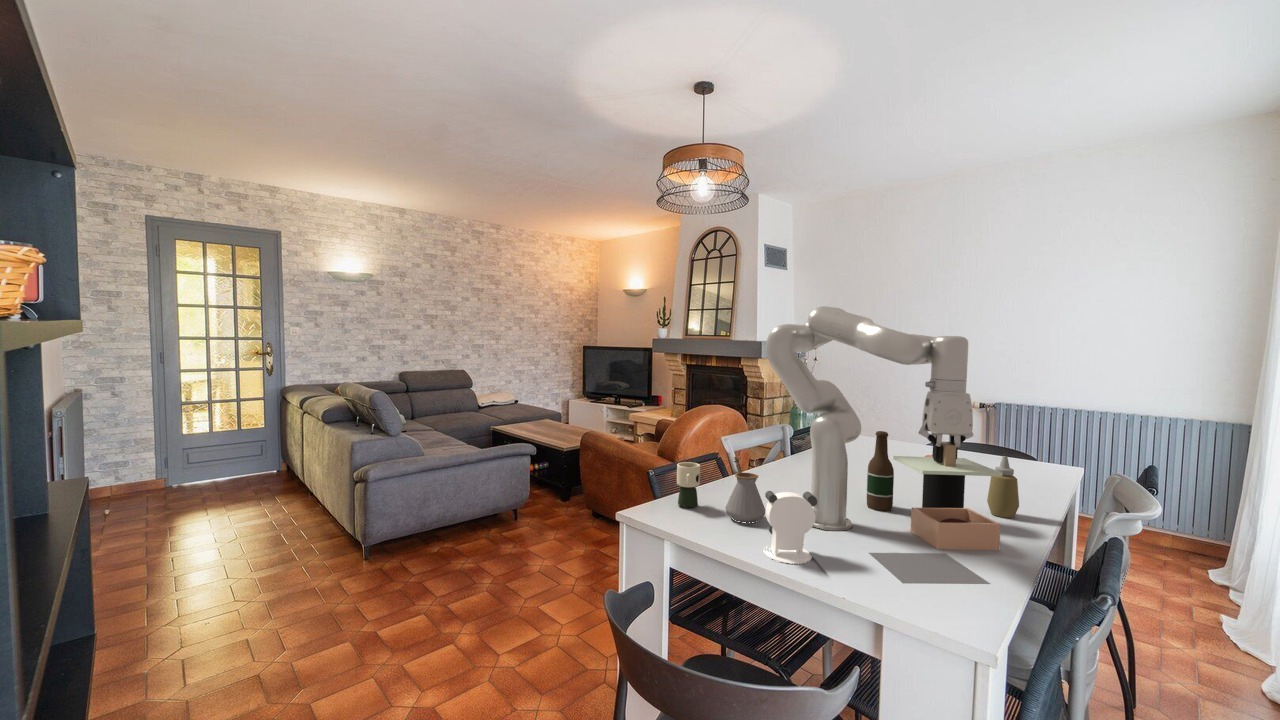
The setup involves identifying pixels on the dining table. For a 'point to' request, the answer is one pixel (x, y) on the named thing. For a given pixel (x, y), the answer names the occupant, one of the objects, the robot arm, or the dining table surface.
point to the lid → (947, 464)
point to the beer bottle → (880, 476)
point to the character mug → (688, 483)
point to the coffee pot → (745, 498)
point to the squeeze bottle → (1003, 492)
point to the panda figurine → (789, 525)
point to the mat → (927, 568)
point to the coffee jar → (943, 490)
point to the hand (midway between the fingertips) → (944, 461)
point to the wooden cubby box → (955, 529)
